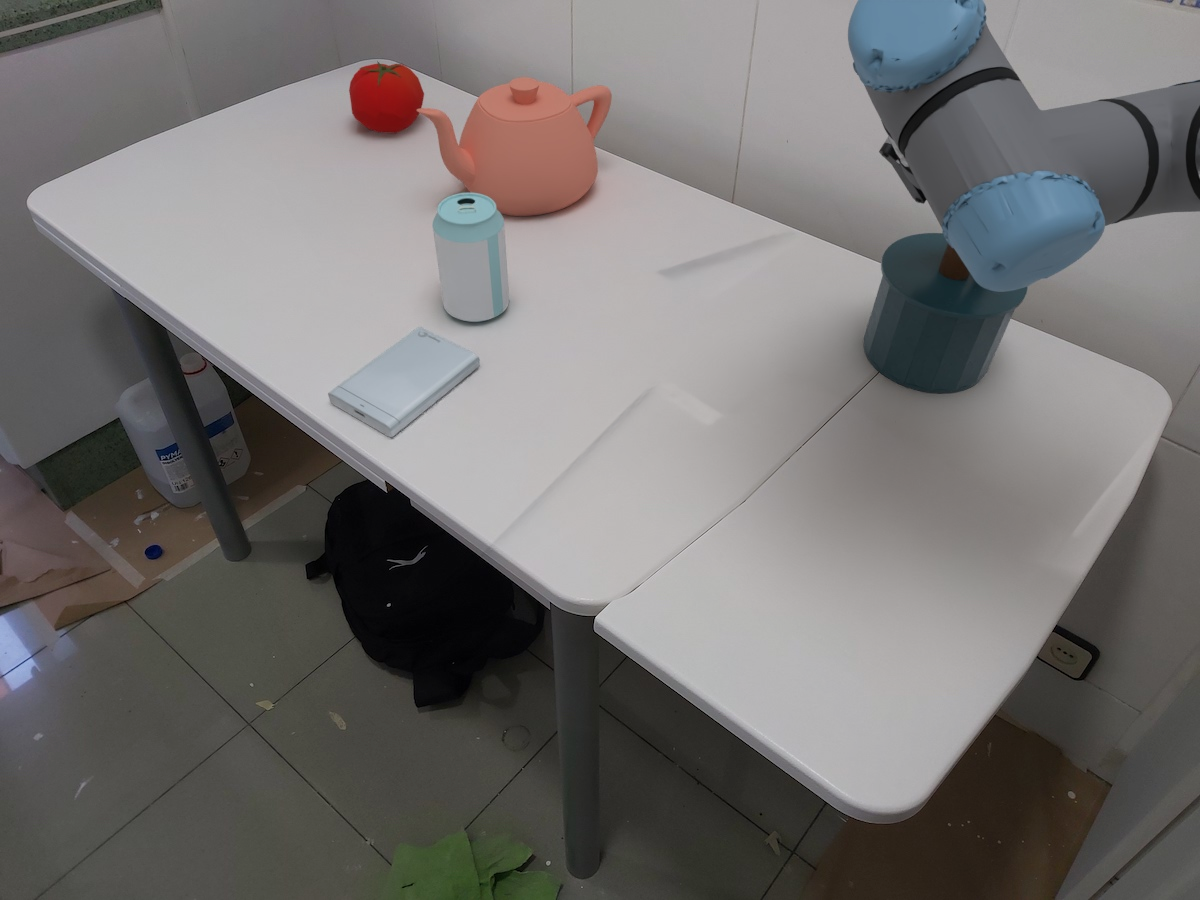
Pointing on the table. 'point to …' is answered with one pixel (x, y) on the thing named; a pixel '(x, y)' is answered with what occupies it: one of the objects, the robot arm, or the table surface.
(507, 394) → the table surface
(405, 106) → the tomato
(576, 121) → the teapot
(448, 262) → the can
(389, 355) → the hard drive
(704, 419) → the table surface
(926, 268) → the lid
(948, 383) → the pot
